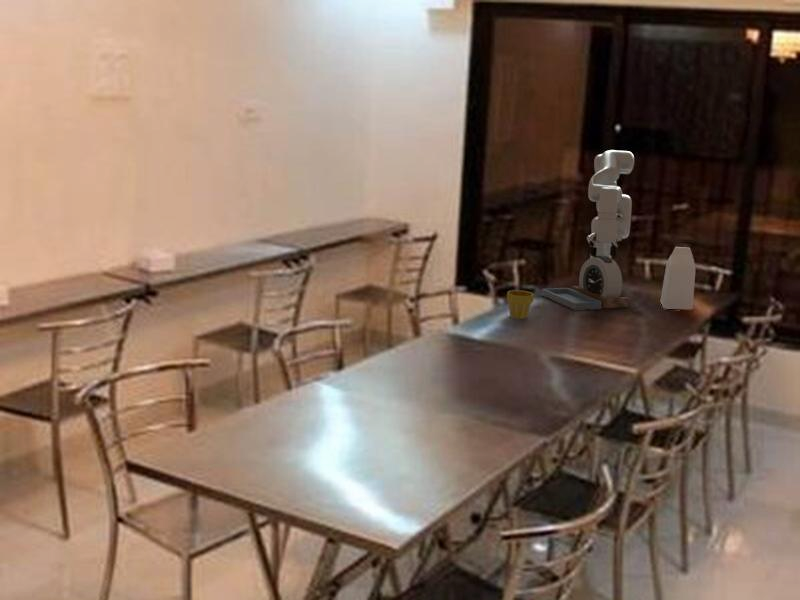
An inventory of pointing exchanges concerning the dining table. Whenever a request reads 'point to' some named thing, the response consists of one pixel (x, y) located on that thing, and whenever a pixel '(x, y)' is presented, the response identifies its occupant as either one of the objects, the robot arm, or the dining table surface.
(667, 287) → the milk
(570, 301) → the slate tray
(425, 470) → the dining table surface
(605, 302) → the walnut stall
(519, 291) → the plant pot
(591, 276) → the alarm clock
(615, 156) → the robot arm
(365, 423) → the dining table surface
